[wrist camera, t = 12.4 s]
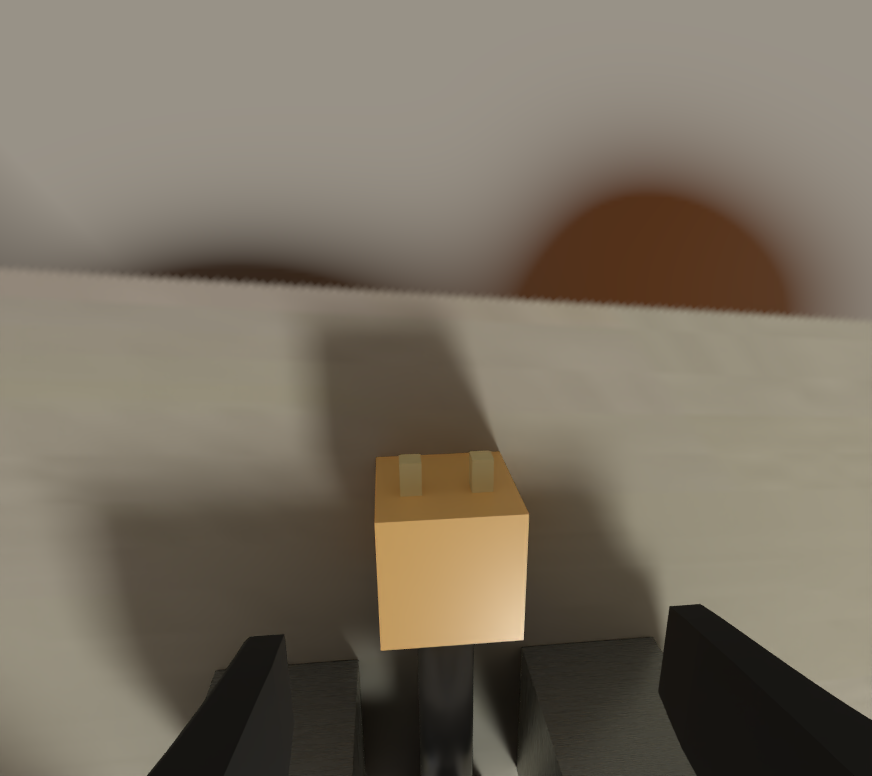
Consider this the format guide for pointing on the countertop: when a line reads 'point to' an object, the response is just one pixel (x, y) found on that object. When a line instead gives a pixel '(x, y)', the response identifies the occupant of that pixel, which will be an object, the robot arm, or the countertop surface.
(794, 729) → the robot arm
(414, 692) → the countertop surface
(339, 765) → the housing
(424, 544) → the bar with block ends
